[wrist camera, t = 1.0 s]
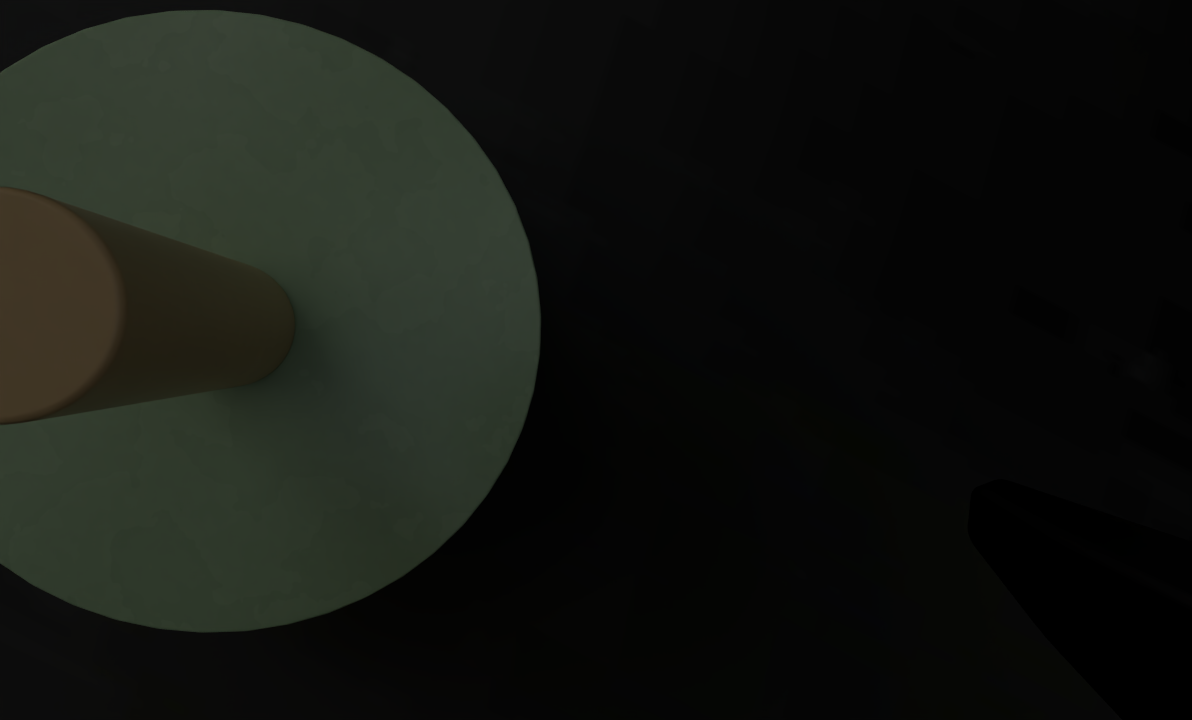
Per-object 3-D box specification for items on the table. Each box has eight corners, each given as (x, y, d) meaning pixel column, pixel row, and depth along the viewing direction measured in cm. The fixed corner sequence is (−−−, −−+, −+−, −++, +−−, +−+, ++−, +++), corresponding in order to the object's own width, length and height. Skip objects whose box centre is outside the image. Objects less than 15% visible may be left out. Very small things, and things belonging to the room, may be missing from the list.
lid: (546, 584, 17) (605, 810, 9) (-61, 639, 15) (-740, 1007, 6) (527, 45, 16) (571, -249, 8) (-99, 22, 14) (-869, -404, 6)
